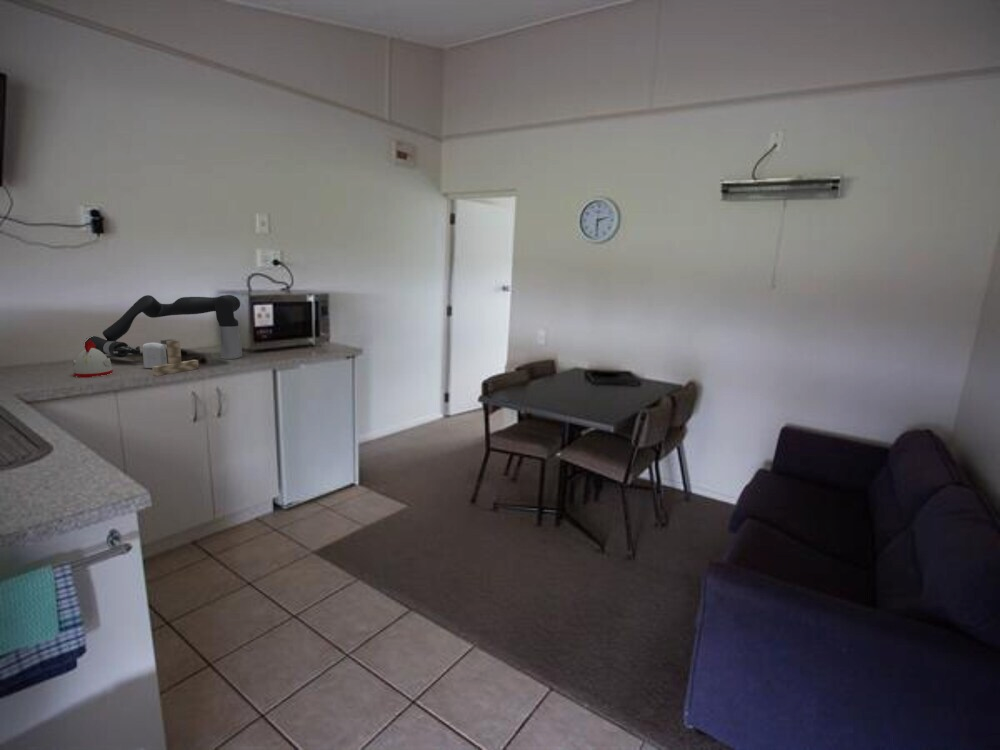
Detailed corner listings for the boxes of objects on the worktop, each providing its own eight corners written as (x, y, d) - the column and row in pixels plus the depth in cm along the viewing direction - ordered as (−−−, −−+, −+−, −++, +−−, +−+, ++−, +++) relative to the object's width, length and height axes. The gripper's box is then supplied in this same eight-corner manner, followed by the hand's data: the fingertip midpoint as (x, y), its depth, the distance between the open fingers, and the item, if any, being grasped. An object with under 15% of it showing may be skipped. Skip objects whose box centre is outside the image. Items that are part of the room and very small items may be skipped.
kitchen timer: (67, 378, 226) (62, 343, 223) (83, 371, 239) (78, 338, 236) (105, 377, 230) (100, 343, 227) (118, 370, 243) (114, 338, 240)
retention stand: (189, 366, 256) (186, 337, 253) (198, 368, 253) (196, 338, 250) (147, 374, 238) (143, 342, 235) (157, 375, 235) (153, 343, 232)
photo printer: (169, 367, 252) (166, 342, 250) (163, 369, 248) (160, 343, 245) (149, 366, 253) (146, 341, 251) (142, 368, 249) (139, 342, 246)
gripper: (100, 343, 254) (123, 346, 248) (129, 339, 266) (151, 342, 259) (102, 358, 256) (125, 361, 249) (131, 354, 268) (152, 357, 261)
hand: (138, 352), depth 254 cm, fingers closed
